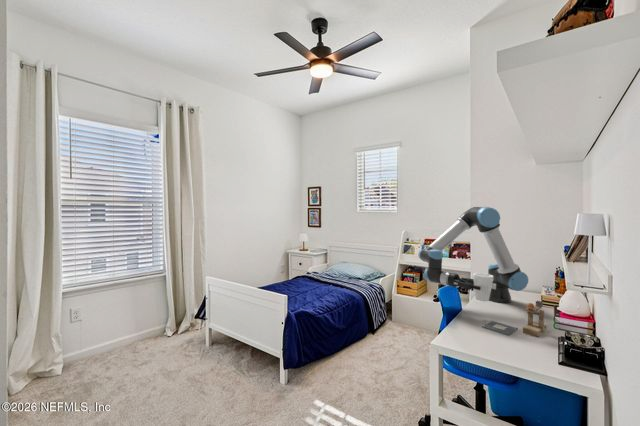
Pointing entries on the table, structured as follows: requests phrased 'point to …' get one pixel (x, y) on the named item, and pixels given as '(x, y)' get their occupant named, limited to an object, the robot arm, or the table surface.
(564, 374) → the table surface
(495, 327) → the mat
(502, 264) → the robot arm
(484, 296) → the foam cup
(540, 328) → the catapult
